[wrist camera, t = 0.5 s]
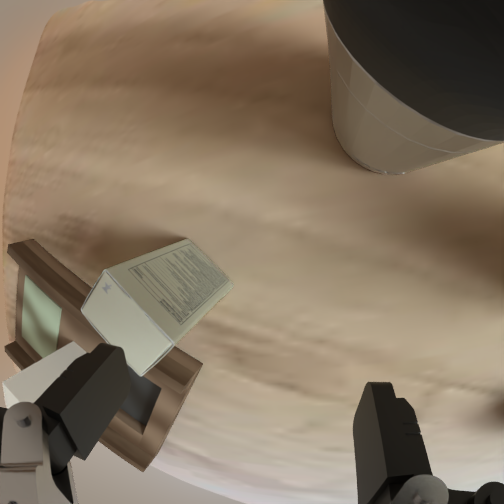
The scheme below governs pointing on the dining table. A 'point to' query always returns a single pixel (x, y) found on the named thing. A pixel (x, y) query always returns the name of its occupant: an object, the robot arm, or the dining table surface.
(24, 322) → the channel
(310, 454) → the dining table surface
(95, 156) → the dining table surface
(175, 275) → the skincare box
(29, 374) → the block
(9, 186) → the dining table surface
